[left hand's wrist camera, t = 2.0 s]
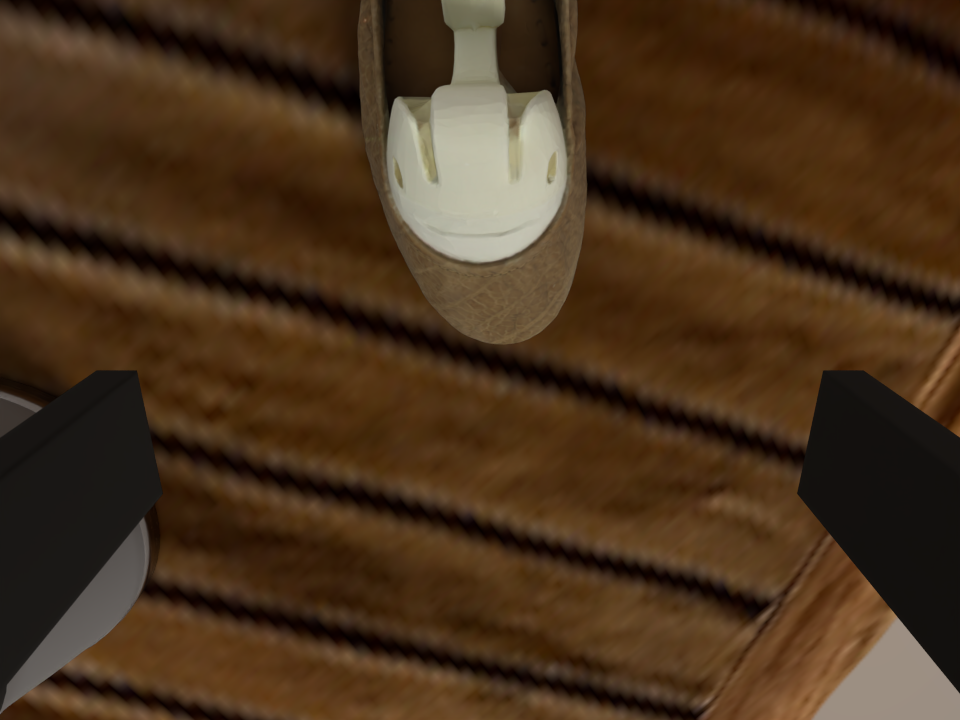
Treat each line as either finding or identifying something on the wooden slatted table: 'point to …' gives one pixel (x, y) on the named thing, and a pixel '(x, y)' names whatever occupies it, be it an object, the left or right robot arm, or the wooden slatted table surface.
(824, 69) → the wooden slatted table surface
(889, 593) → the left robot arm
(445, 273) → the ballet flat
